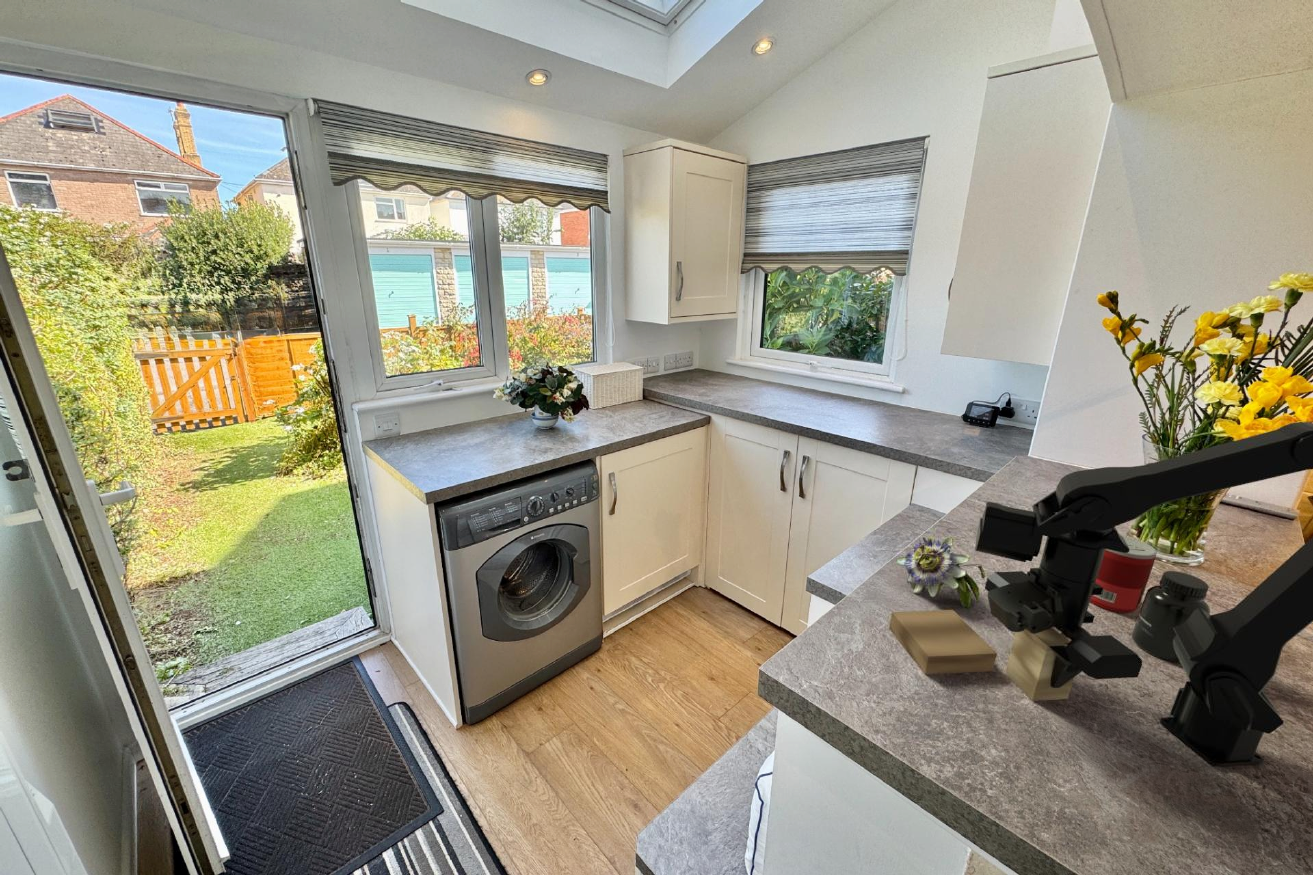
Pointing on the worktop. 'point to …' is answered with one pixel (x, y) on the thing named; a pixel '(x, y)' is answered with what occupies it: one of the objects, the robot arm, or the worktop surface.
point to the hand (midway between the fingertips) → (1039, 672)
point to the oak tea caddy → (1036, 664)
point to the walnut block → (942, 642)
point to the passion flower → (939, 569)
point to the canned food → (1124, 577)
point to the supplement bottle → (1168, 612)
